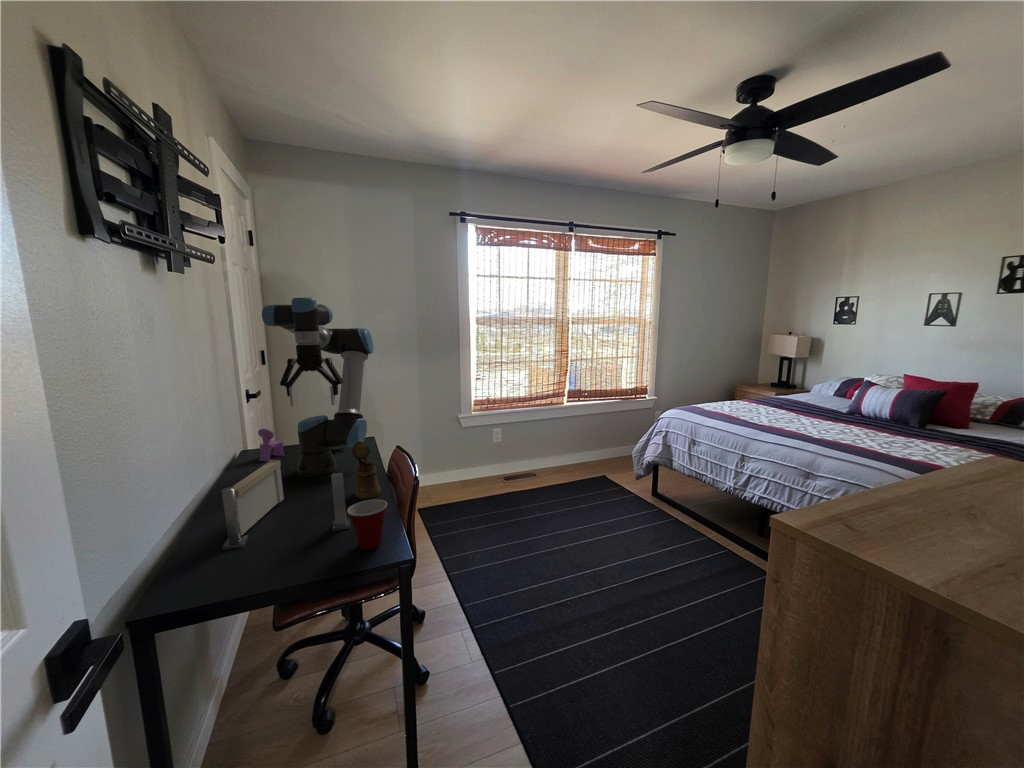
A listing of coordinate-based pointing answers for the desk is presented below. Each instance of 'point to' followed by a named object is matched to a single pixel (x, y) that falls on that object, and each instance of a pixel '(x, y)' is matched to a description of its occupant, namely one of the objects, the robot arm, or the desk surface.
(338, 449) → the media streaming box
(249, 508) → the gate
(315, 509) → the desk surface
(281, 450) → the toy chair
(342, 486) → the gate frame
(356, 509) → the plastic cup
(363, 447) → the brown disc-topped figurine
